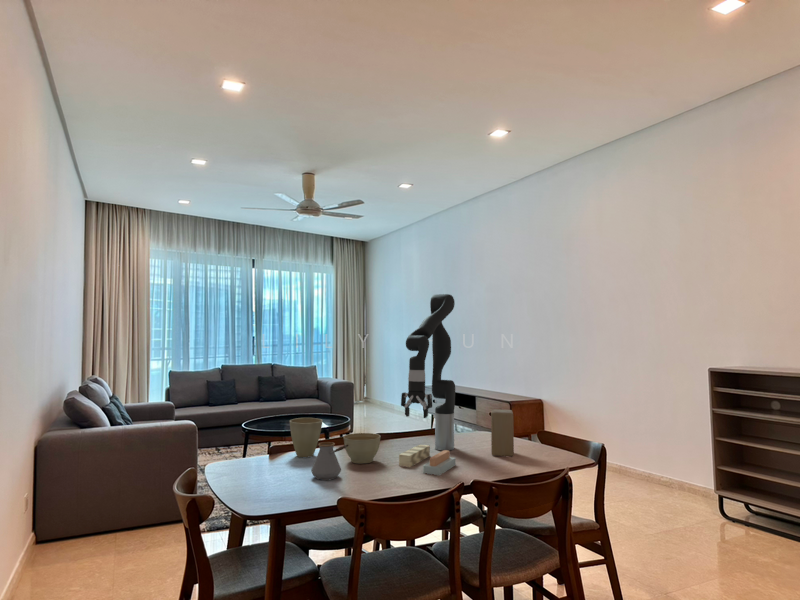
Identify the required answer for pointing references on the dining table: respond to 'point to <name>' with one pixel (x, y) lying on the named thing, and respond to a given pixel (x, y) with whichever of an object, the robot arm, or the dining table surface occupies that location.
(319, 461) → the coffee pot
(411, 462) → the batten
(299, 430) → the plant pot
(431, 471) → the fulcrum
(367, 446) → the planter bowl
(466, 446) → the dining table surface
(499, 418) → the wooden block
